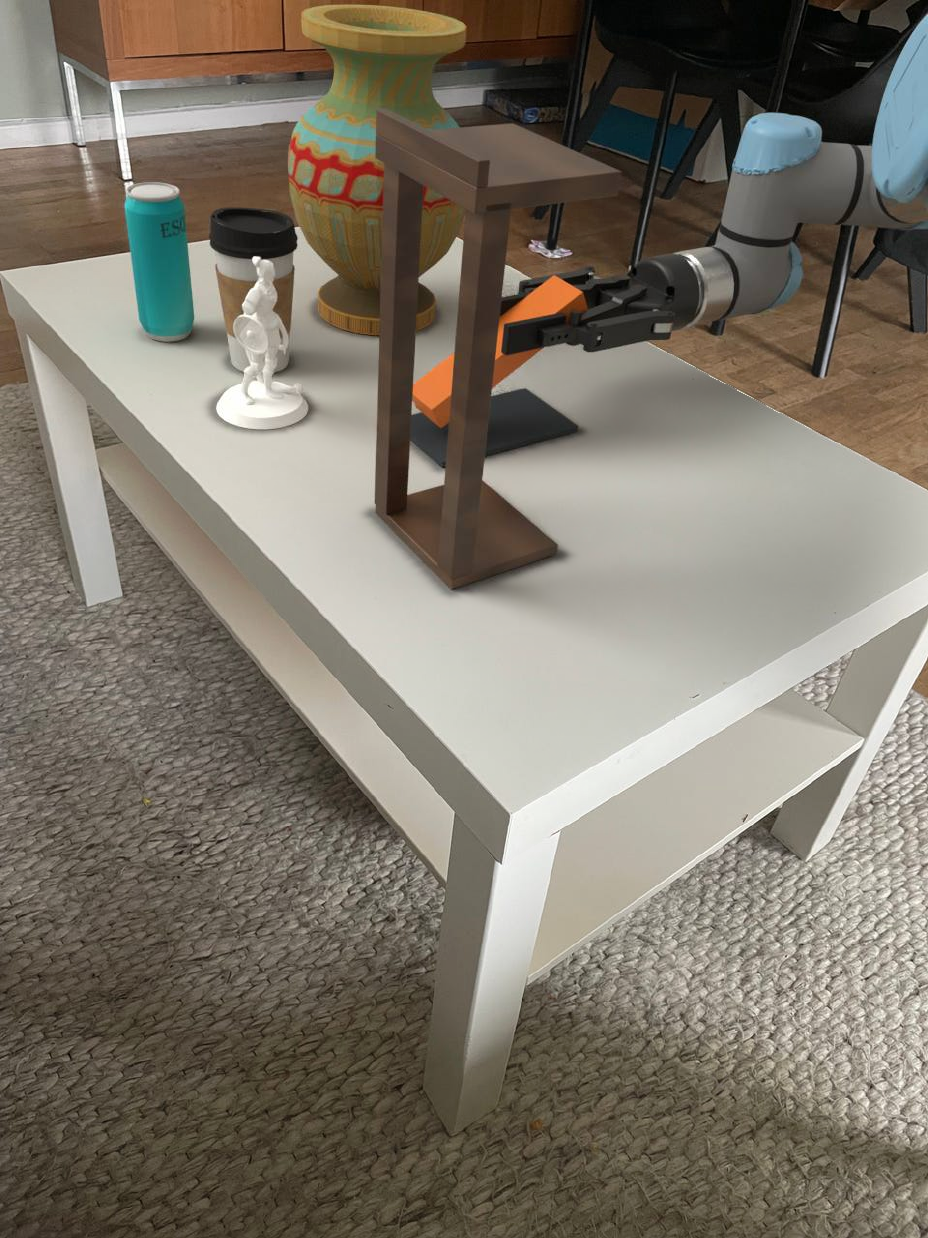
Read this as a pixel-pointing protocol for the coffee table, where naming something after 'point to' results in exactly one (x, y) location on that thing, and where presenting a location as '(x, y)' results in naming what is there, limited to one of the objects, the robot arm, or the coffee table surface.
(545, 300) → the orange block
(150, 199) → the beverage can
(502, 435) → the rubber pad
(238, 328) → the figurine
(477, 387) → the walnut rack
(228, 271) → the coffee cup
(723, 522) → the coffee table surface
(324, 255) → the vase
